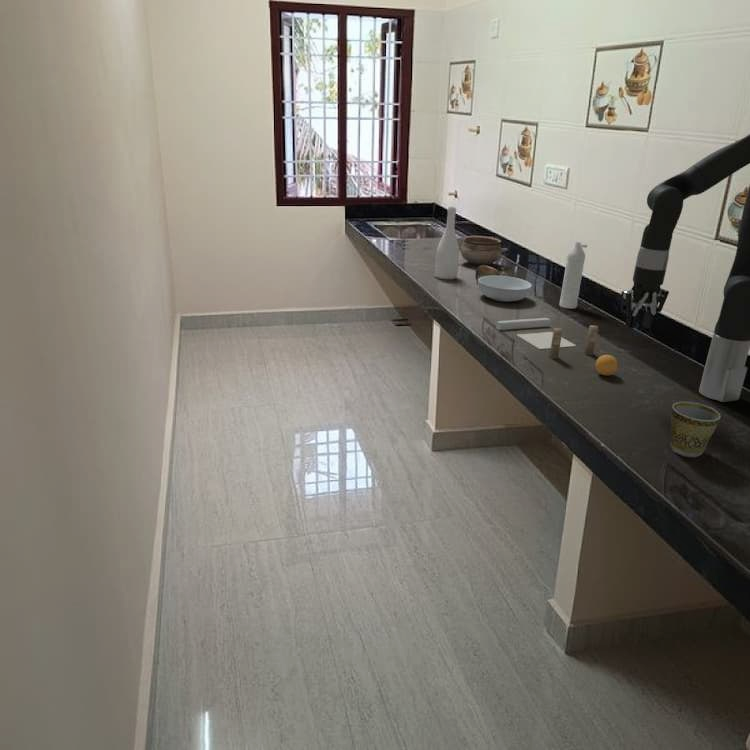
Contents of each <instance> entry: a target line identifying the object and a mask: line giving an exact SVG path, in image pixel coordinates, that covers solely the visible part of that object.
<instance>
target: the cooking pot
mask: <svg viewBox="0 0 750 750" xmlns="http://www.w3.org/2000/svg"><path fill="white" fill-rule="evenodd" d="M462 238H463V241H462V244H461V246H459V245H458V247H459V252H460V255H461V256H462V258H463V260H464V261H466V262H468V263H469V264H471V266H473V267H477V268H478V267H479V266H480V265H486V266H488V265H489V266H490V265H491V264H494V263H495V262H496V261H498V260H499V259H500V256H501V254H503V253H504V252H506V251H508V250H509V249H508V248H507V247H504V248H502V247H501V244H500V243H501V242H502V240H501V239H500V238H496V237H492V236H484V235H467V236H464V237H462Z"/></svg>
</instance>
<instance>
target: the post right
mask: <svg viewBox="0 0 750 750" xmlns="http://www.w3.org/2000/svg"><path fill="white" fill-rule="evenodd" d="M598 332H599V326H598V325H592V324H591V325H589V327H588V332H587V333H588V334H587V337H586V338H587V339H586V343H585V349H584V355H586V356H593V355H594V351H595V348H596V341H597V336H598Z"/></svg>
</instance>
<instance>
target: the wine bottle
mask: <svg viewBox="0 0 750 750" xmlns="http://www.w3.org/2000/svg"><path fill="white" fill-rule="evenodd" d="M446 212H447V215H446V216H447V218H446V225H445V226H446V227H445V230H444V231H443V234H442V237H441V238H440V241H439V243H438V245H437V248H436V249H437V250H436V256H435V257H436V258H435V266H434V267H435V269H434V276H435V277H436V278H437V279H440V280H446V281H447V280H455V279H456V278H457V275H458V269H459V268H458V266H459V257H460V250H459V247H458V246H459V243H458V239H457V234H456V229H455V224H456V223H455V221H456V213H457V208H456V207H455V206H448V207H447V211H446Z"/></svg>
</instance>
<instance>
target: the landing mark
mask: <svg viewBox="0 0 750 750" xmlns="http://www.w3.org/2000/svg"><path fill="white" fill-rule="evenodd" d="M516 336H517V337H518V338H520V339H522V340H523V341H524V342H527V343H528V344H530V345H532V346H533V347H535V348H536V349H538V350H548V349H549V350H550V349H551V343H552V337H553V331H545V332H531V333H522V334H521V333H520V334H519V333H518V334H516ZM570 347H577V345H576V344H575V343H573V342H571V341H569V340H567V339H565V338H564V337H561V343H560V349H561V348H570Z"/></svg>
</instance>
